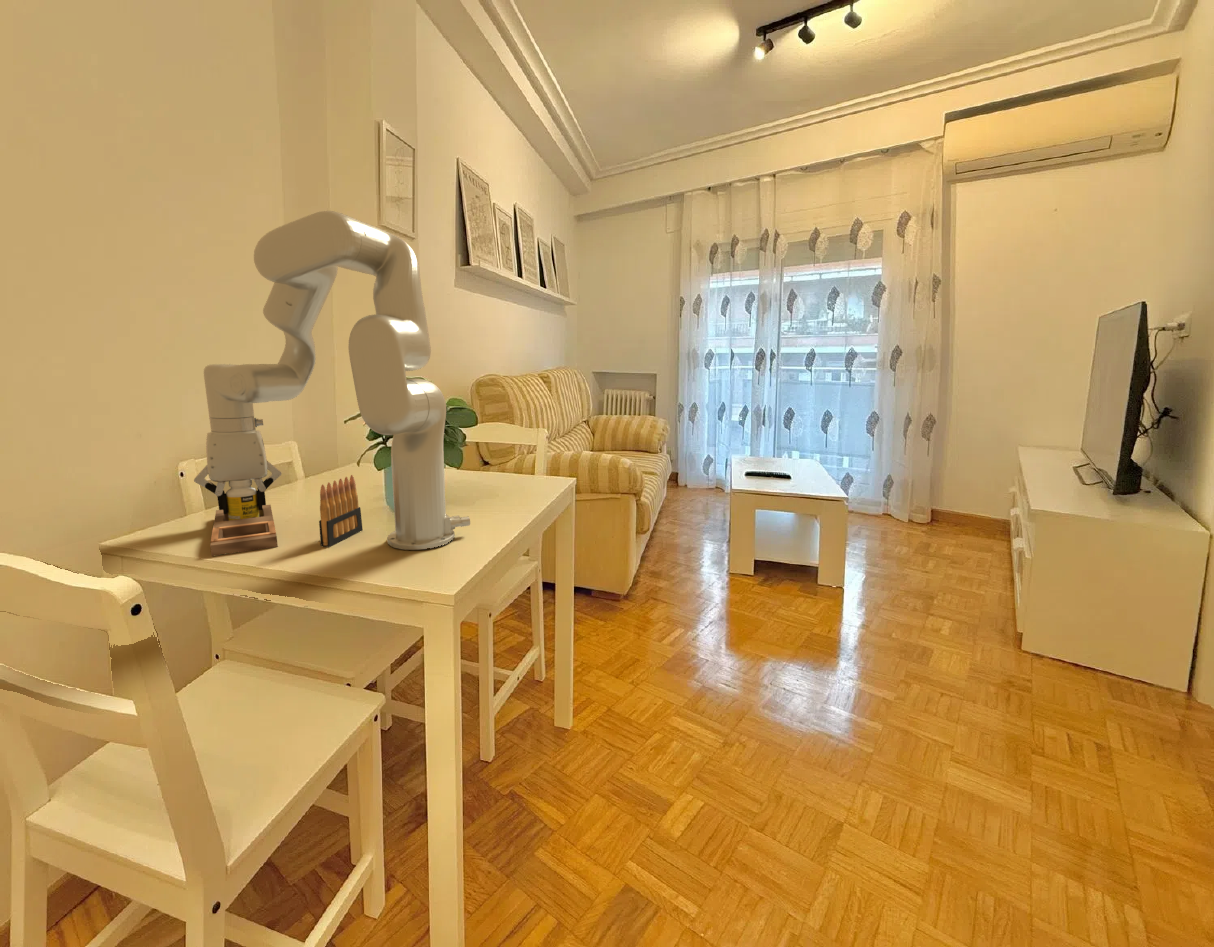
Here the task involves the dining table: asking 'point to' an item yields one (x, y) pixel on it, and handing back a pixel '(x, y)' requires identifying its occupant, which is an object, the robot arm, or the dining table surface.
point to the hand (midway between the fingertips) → (243, 509)
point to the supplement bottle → (242, 500)
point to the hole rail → (243, 533)
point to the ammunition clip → (339, 512)
